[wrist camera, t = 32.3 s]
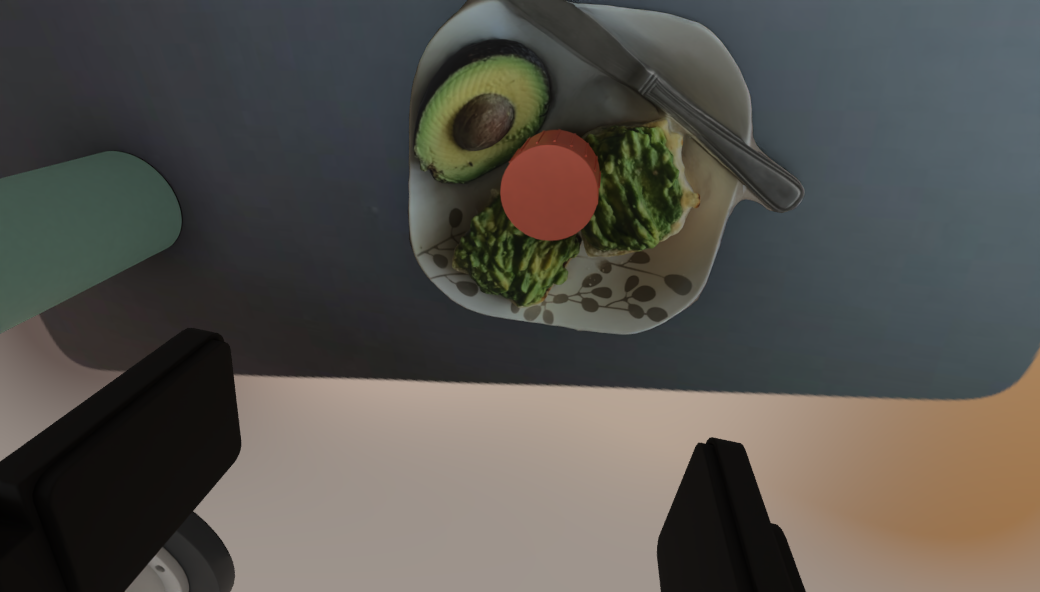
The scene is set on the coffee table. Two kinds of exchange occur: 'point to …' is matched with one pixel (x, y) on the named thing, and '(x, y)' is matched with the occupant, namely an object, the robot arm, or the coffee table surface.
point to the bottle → (78, 228)
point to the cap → (551, 185)
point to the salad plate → (615, 141)
